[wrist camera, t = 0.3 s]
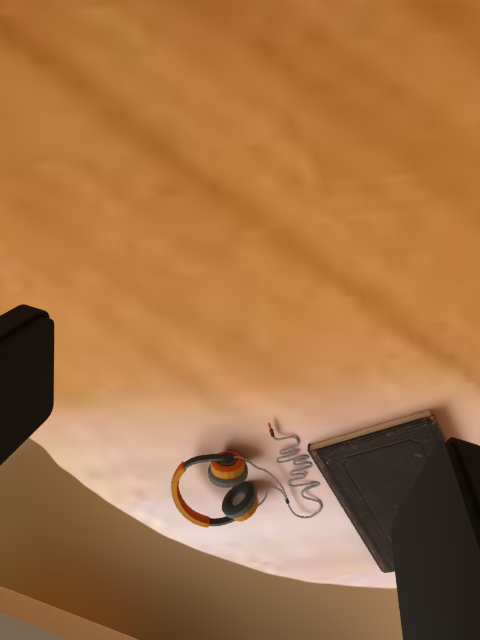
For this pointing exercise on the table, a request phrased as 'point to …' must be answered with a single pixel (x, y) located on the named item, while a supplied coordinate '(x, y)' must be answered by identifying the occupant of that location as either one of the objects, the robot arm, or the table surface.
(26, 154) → the table surface
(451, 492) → the robot arm
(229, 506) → the headphones
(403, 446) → the hardcover book
